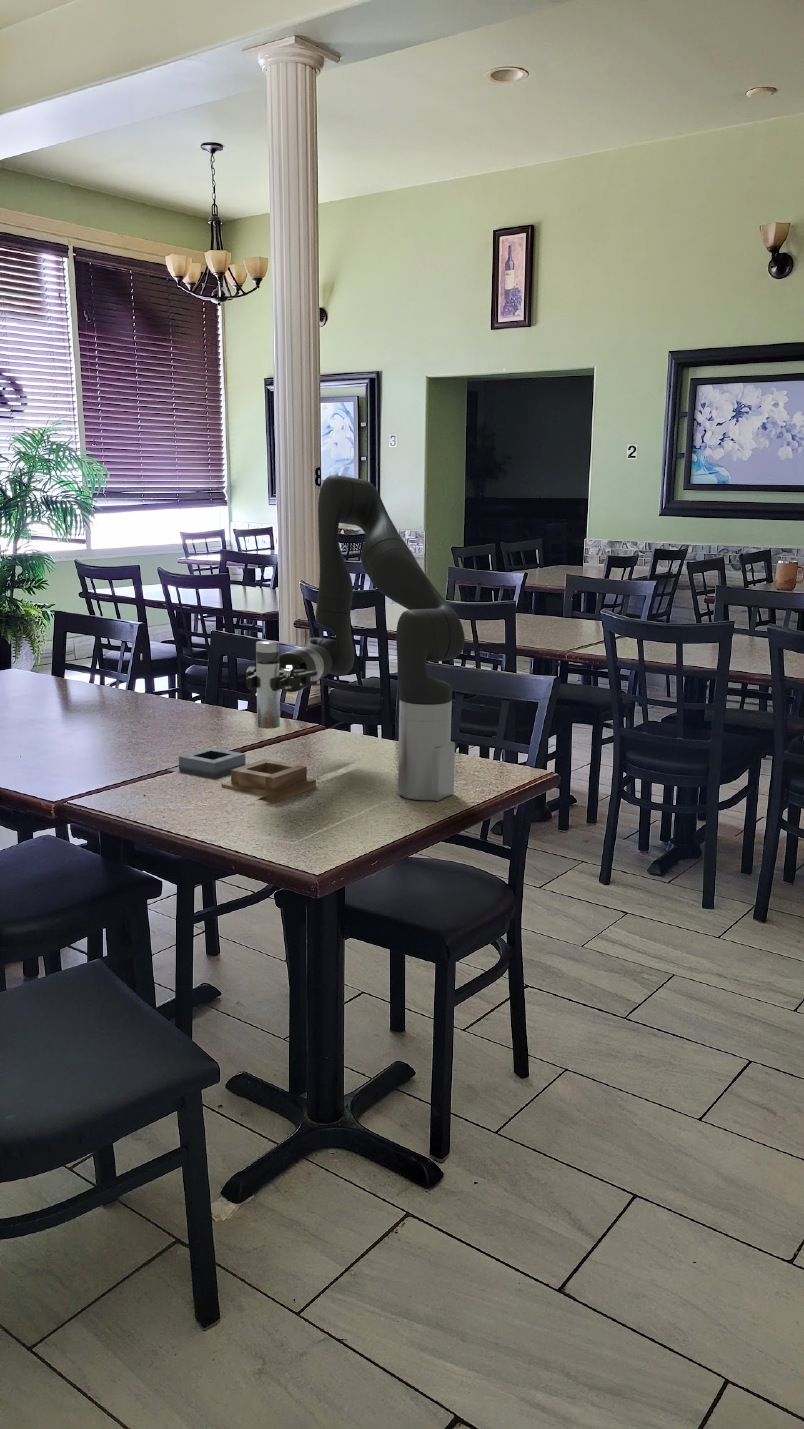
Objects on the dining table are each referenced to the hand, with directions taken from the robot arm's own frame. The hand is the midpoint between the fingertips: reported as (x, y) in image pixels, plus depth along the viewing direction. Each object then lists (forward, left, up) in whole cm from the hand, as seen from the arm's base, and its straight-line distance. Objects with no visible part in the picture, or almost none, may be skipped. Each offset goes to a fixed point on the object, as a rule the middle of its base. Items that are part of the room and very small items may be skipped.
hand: (261, 684), depth 181 cm
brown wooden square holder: (+1, -3, -20) cm, 20 cm away
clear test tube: (+1, -3, -8) cm, 8 cm away
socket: (+17, -6, -20) cm, 26 cm away
